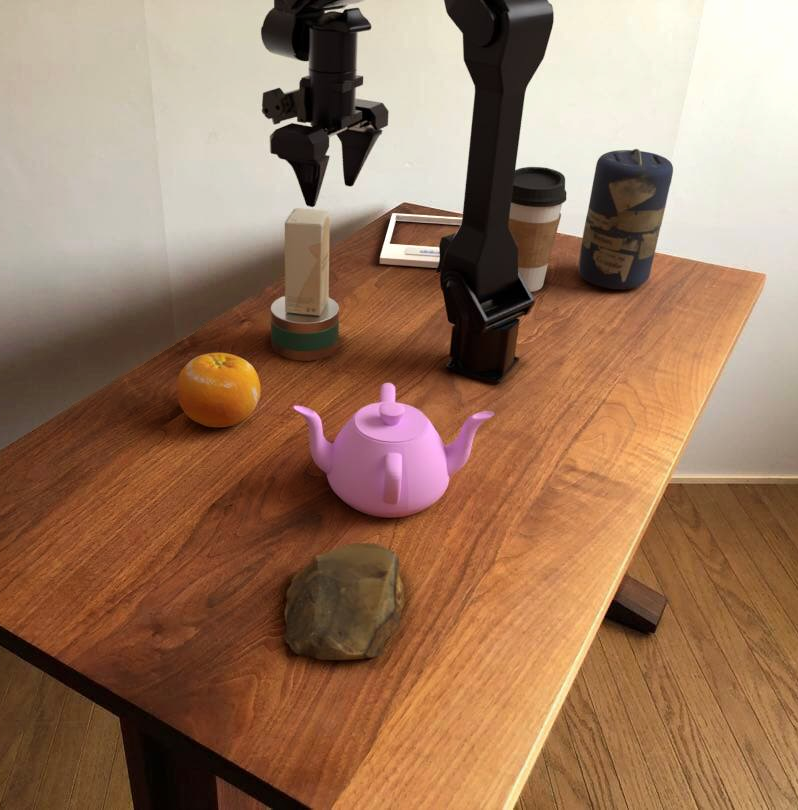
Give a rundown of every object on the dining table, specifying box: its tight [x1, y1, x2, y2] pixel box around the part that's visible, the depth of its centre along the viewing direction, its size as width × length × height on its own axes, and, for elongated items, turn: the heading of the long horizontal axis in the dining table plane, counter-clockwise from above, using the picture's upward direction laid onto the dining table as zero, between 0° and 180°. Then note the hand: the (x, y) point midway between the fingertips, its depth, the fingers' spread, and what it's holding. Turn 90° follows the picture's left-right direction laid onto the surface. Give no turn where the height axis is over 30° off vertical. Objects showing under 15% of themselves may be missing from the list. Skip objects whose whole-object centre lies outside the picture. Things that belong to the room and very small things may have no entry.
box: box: [284, 207, 331, 315], centre depth 105 cm, size 5×4×11 cm
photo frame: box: [379, 212, 462, 269], centre depth 136 cm, size 15×1×18 cm
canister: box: [577, 148, 674, 290], centre depth 121 cm, size 10×10×18 cm
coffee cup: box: [509, 166, 568, 293], centre depth 121 cm, size 8×8×15 cm
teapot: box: [293, 382, 495, 519], centre depth 84 cm, size 12×14×9 cm
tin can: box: [270, 295, 340, 362], centre depth 108 cm, size 8×8×5 cm
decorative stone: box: [283, 542, 405, 661], centre depth 71 cm, size 10×9×4 cm
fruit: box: [176, 352, 261, 428], centre depth 95 cm, size 8×8×8 cm
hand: (330, 195), depth 116 cm, fingers open, 9 cm apart
